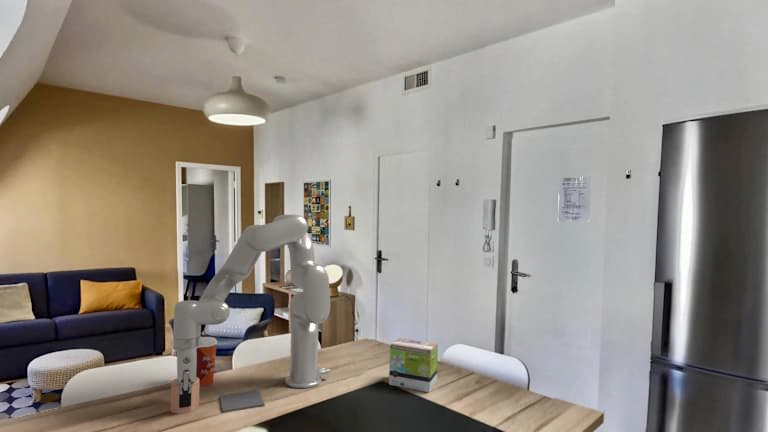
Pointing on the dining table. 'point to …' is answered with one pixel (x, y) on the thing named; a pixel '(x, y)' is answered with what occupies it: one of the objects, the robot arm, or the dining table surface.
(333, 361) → the dining table surface
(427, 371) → the tea box
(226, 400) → the charcoal mat
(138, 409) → the dining table surface
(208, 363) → the coffee cup
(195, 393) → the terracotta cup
